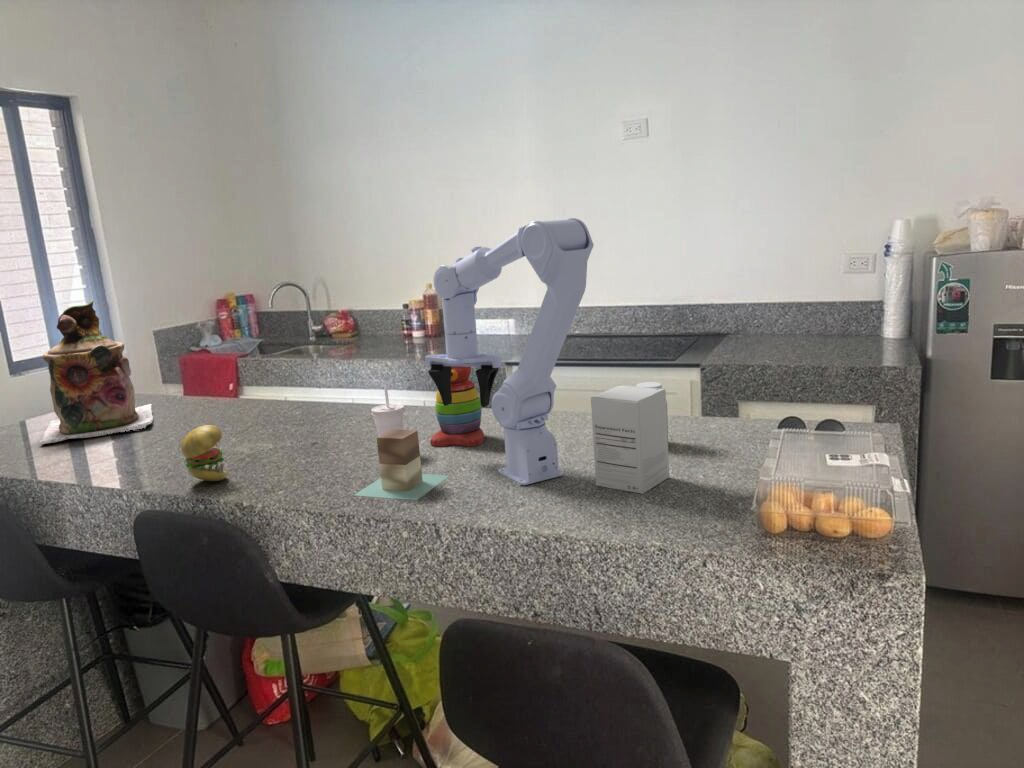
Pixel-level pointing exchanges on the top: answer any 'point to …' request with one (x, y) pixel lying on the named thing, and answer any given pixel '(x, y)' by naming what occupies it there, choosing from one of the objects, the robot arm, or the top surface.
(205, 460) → the hamburger
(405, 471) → the maple block
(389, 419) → the smoothie
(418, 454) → the walnut block
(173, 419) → the top surface
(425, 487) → the mat
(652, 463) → the supplement box
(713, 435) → the top surface
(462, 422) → the stacking bear
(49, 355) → the cookie jar
